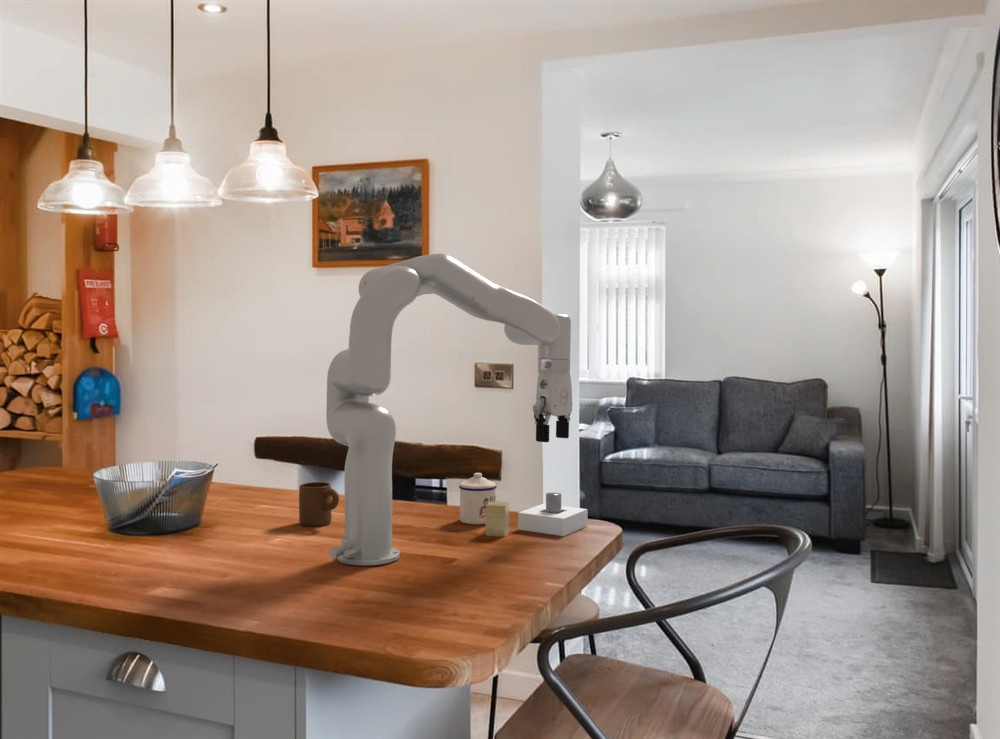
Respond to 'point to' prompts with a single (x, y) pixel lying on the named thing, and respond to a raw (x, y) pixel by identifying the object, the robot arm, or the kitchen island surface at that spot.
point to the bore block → (552, 520)
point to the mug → (316, 503)
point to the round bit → (553, 503)
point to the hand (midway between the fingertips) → (552, 439)
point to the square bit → (497, 518)
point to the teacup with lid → (476, 499)
